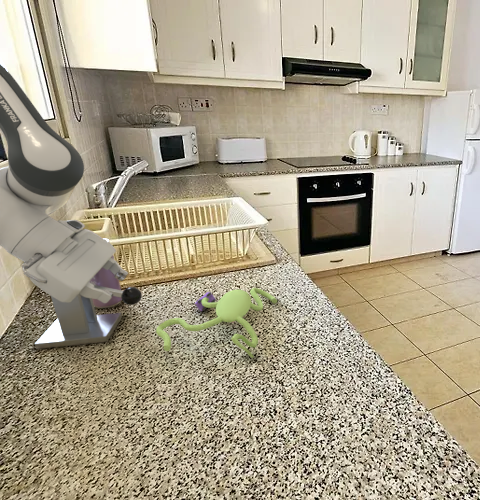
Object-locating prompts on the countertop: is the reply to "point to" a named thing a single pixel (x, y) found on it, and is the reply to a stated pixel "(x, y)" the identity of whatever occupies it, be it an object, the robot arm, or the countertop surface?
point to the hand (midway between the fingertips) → (118, 287)
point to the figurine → (223, 315)
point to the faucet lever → (125, 294)
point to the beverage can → (109, 281)
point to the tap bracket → (78, 324)
